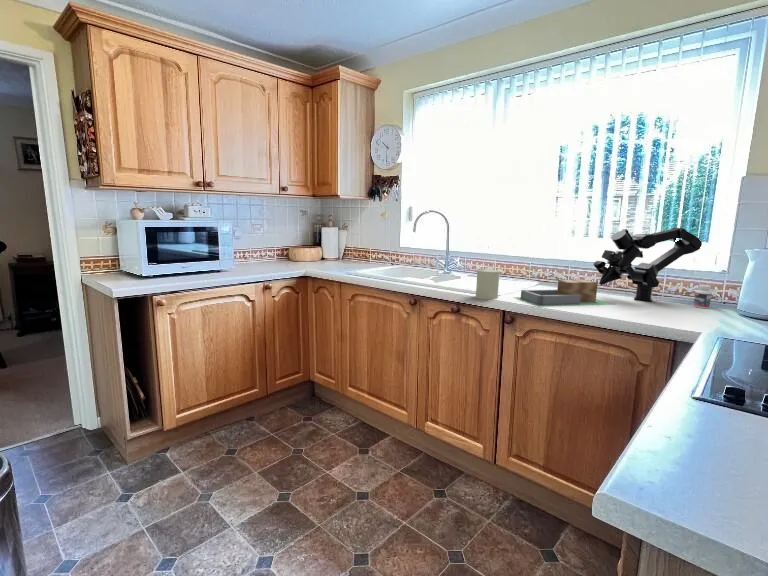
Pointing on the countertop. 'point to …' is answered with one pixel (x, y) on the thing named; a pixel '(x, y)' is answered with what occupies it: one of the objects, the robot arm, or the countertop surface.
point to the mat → (598, 302)
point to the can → (487, 284)
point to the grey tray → (548, 297)
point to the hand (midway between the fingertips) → (600, 284)
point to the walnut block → (578, 289)
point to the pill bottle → (702, 296)
